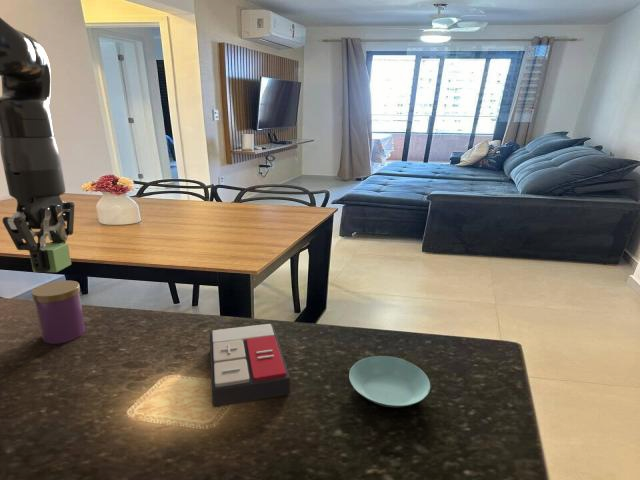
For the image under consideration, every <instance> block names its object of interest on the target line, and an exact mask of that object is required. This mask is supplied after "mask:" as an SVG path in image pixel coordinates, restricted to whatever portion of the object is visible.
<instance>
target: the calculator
mask: <svg viewBox="0 0 640 480" xmlns="http://www.w3.org/2000/svg"><path fill="white" fill-rule="evenodd" d="M209 356H210V358H209V359H210V360H209V363H210V389H211V404H212V406H213V407H214V408H217V407H223V406H229V405H234V404H240V403H246V402H252V401H259V400H264V399H270V398H276V397H283V396H287V395H290V392H291V376H290V373H289V370H288V366H287V363H286V361H285V357H284V354H283V351H282V348H281V345H280V341H279V338H278V336H277V331H276V329H275V326H274V324H272V323H265V324H256V325H248V326H240V327H238V326H237V327H231V328H229V327H228V328H221V329H213V330H211V331H209Z"/></svg>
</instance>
